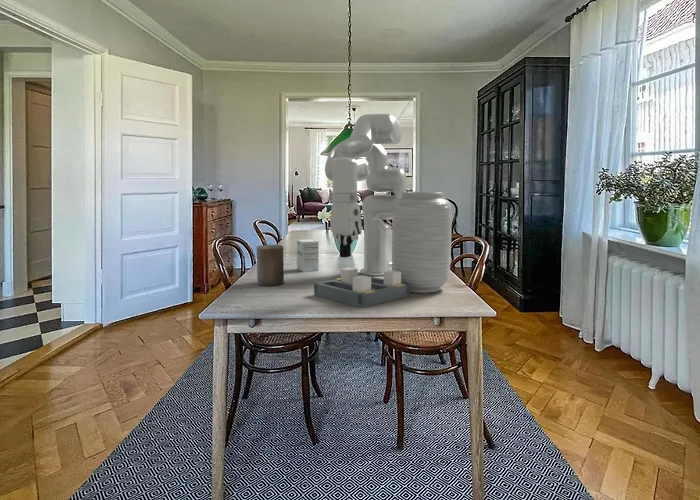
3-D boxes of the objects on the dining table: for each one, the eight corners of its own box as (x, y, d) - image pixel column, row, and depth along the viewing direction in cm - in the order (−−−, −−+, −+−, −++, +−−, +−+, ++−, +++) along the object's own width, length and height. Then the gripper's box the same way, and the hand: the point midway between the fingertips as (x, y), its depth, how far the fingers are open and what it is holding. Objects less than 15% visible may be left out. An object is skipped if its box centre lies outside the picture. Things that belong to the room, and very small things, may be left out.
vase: (381, 284, 176) (383, 191, 171) (430, 281, 183) (432, 191, 179) (408, 297, 157) (410, 192, 153) (461, 292, 165) (465, 192, 160)
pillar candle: (289, 283, 178) (288, 242, 175) (267, 287, 170) (267, 245, 168) (272, 279, 184) (272, 240, 182) (251, 283, 177) (250, 242, 175)
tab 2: (383, 292, 159) (383, 271, 158) (391, 290, 161) (391, 270, 160) (392, 294, 156) (393, 273, 155) (400, 292, 159) (401, 271, 158)
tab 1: (352, 299, 149) (352, 277, 148) (361, 297, 152) (361, 275, 151) (361, 301, 146) (362, 279, 145) (371, 299, 149) (371, 277, 148)
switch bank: (314, 295, 159) (314, 282, 159) (361, 285, 174) (361, 274, 174) (361, 308, 144) (361, 294, 143) (409, 296, 159) (409, 283, 158)
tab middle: (340, 289, 163) (340, 268, 162) (349, 287, 166) (349, 267, 165) (348, 291, 160) (348, 270, 159) (357, 289, 163) (357, 268, 162)
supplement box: (296, 269, 206) (296, 239, 204) (313, 268, 209) (312, 238, 207) (302, 272, 199) (302, 241, 198) (319, 271, 203) (319, 240, 201)
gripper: (370, 199, 148) (370, 258, 151) (337, 196, 158) (338, 252, 162) (353, 200, 143) (353, 261, 146) (320, 198, 153) (321, 255, 157)
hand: (345, 256), depth 154 cm, fingers closed
